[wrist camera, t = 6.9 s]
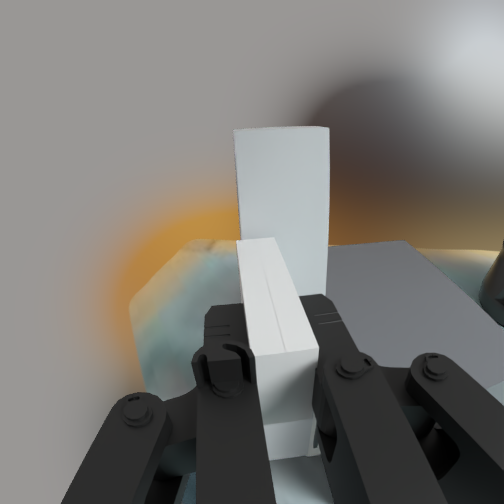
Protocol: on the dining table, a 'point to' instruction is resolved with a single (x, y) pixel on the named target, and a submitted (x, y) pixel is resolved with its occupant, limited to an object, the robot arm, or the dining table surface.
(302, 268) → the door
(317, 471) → the dining table surface
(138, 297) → the dining table surface
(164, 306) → the dining table surface
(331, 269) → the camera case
